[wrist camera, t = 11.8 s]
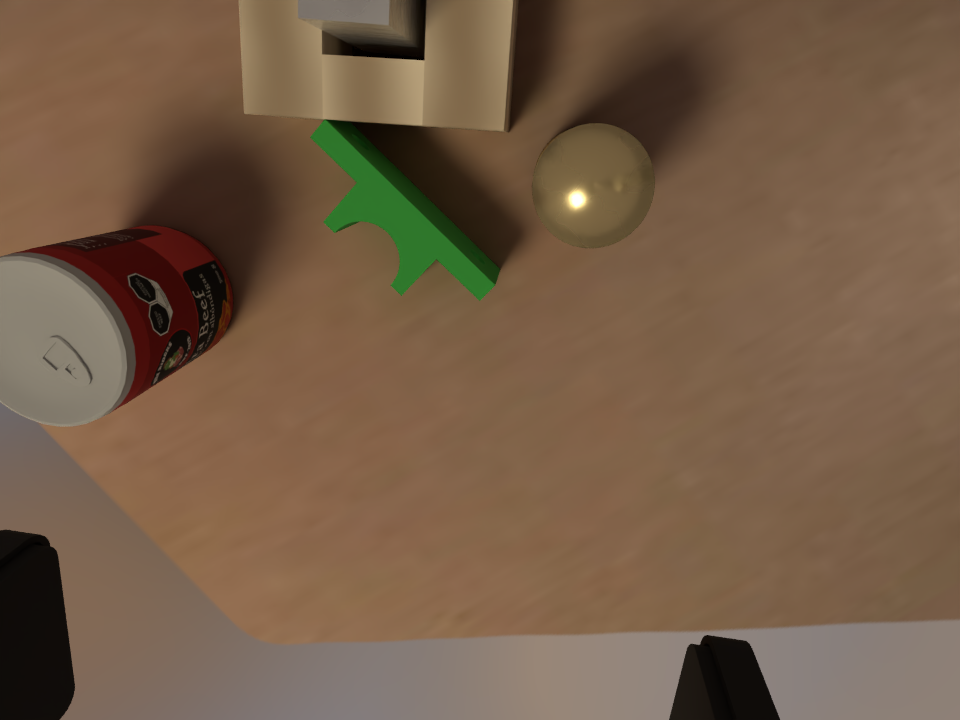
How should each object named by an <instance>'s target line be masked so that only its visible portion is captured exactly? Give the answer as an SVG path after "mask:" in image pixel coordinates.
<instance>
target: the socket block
mask: <svg viewBox="0 0 960 720" xmlns="http://www.w3.org/2000/svg"><path fill="white" fill-rule="evenodd" d="M518 3H519V0H427V1H426V31H425V61H424V60H408V59H391V58H374V57H358V56H353V45H351V44H349V43H347V42H345V41H343V40H341V39H339V38H337V37H335V36H333V35H331V34H329V33H327V32H325V31H323V30H321V29H319V28H317V27H315V26H313V25H311V24H309V23H307V22H305V21H303V20H301V19H299V18H298V0H239V16H240V37H241V58H242V80H243V101H244V114H253V115H264V116H275V117H287V118H302V119H317V120H325V119H327V120H336V121H347V122H362V123H377V124H392V125H407V126H422V127H437V128H452V129H467V130H483V131H498V132H509V126H510V112H511V99H512V85H513V71H514V58H515V44H516V30H517V17H518Z"/></svg>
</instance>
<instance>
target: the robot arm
mask: <svg viewBox="0 0 960 720" xmlns="http://www.w3.org/2000/svg"><path fill="white" fill-rule="evenodd" d="M74 691H75V683H74V675H73V667H72V660H71V652H70V644H69V636H68V629H67V621H66V613H65V606H64V598H63V591H62V583H61V575H60V567H59V560H58V554H57V551H56V550H55V549H54V548H53V547H50V543H49V541H48V539H47V538H46V537H45V536H42V535H38V534H31V533H24V532H18V531H11V530H1V531H0V720H60V718H61V717H62V716H63V715H64V713H65V712H66V711H67V709H68V707H69V705H70V704H71V701H72V698H73V695H74ZM669 720H780V718H779V716H778V713H777V711H776V708H775V705H774V703H773V700H772V698H771V695H770V693H769V690H768V688H767V685H766V683H765V680H764V677H763V675H762V672H761V670H760V668H759V665H758V662H757V660H756V657H755V655H754V652H753V650H752V648H751V646H750V644H749V643H748V642H747V641H743V640H736V639H729V638H723V637H716V636H709V635H706V636H704V637H703V639H702V641H701V644H700V645H696V644H690V645H689V647H688V648H687V651H686V655H685V659H684V663H683V668H682V671H681V675H680V679H679V683H678V687H677V691H676V695H675V699H674V703H673V707H672V711H671V715H670V719H669Z"/></svg>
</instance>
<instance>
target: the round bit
mask: <svg viewBox="0 0 960 720" xmlns="http://www.w3.org/2000/svg"><path fill="white" fill-rule="evenodd" d="M654 188H655V177H654V171H653V166H652V163H651V160H650V158H649V156H648V154H647V152H646V150H645V149H644V147H643V146H642V145H641V143H640V142H639V141H638V140H637V139H636V138H635V137H633V136H632V135H631V134H630V133H628V132H626V131H625V130H623V129H621V128H618V127H616V126H612V125H609V124H602V123H590V124H584V125H580V126H576V127H574V128H571V129H569V130H567V131H564V132H562V133H561V134H559V135H557V136H556V137H554V138H553V139H552V140H551V141H550V142H549V143H548V144H547V145H546V146H545V148H544V149H543V151H542V152H541V154H540V156H539V158H538V161H537V164H536V167H535V171H534V175H533V182H532V195H533V202H534V206H535V209H536V211H537V214H538V216H539V218H540V220H541V221H542V223H543V224H544V226H545V227H546V228H547V229H548V230H549V231H550V232H551V233H552V234H553V235H554V236H555V237H557V238H558V239H560V240H562V241H563V242H565V243H568V244H570V245H573V246H577V247H582V248H600V247H605V246H609V245H611V244H614V243H616V242H618V241H620V240H622V239H624V238H625V237H627V236H628V235H629V234H631V233H632V232H633V231H634V230H635V229H636V228H637V227H638V226H639V225H640V223H641V222H642V221H643V219H644V218H645V216H646V214H647V212H648V210H649V208H650V206H651V203H652V200H653V195H654Z"/></svg>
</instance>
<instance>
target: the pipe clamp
mask: <svg viewBox="0 0 960 720" xmlns="http://www.w3.org/2000/svg"><path fill="white" fill-rule="evenodd" d="M310 138H311V139H312V140H313V141H314V142H315V143H316V144H318V145H319V146H320V147H321V148H322V149H323V150H324V151H325V152H326V153H327V154H328V155H329V156H330V157H331V158H332V159H333V160H334V161H335V162H336V163H337V164H338V165H339V166H340V167H341V168H342V169H343V170H344V171H346V172H347V173H348V174H349V175H350V176H351V177H352V178H353V179H354V180H355V181H356V182H357V183H356V185H355V186H354V187H353V188H352V189H351V190H350V192H349V193H348V194H347V195H346V196H345V197H344V199H343V200H342V201H341V202H340V203H339V204H338V206H337V207H336V208H335V209H334V210H333V211H332V213H331V214H330V215H329V216H328V217H327V218H326V219H325V221H324V223H325V224H326V225H327V226H328V227H329V228H330V229H331V230H332V231H333V232H334V233H335V232H338V231H340V230H342V229H345V228H347V227H349V226H351V225H354V224H356V223H358V222H359V221H364V222H369V223H373V224H375V225H377V226H379V227H381V228H383V229H384V230H385V231H386V232H387V233H388V234H389V235H390V236H391V237H392V239H393V240H394V242H395V244H396V246H397V248H398V252H399V257H400V266H399V271H398V274H397V276H396V278H395V280H394V282H393V283H392V284H391V286H392V287H393V288H394V289H395V290H396V291H397V292H398V293H399V294H400V295H401V296H402V295H403V293H404V292H405V291H406V290H407V289H408V288H409V287H410V286H411V285H412V284H413V283H414V282H415V281H416V280H417V279H418V278H419V277H420V276H421V274H422V273H423V272H424V271H425V270H426V269H427V268H428V267H429V266H430V265H431V264H432V263H433V262H434V261H435V260H436V259H437V260H438V261H439V262H440V263H441V264H442V265H443V266H444V267H445V268H446V269H447V270H448V271H449V272H450V273H451V274H452V275H453V276H454V277H455V278H457V279H458V280H459V281H460V282H461V283H462V284H463V285H464V286H465V287H466V288H467V289H468V290H469V291H470V292H471V293H472V294H473V295H474V296H475V297H476V298H477V299H478V300H479V301H480V300H481V299H482V298H483V297H484V296H485V295H486V294H487V293H488V292H489V291H490V290H491V289H492V288H493V287H494V286H495V284H496V281H497V278H498V275H499V272H500V268H498V267H497V266H496V265H495V264H494V263H493V262H492V261H491V260H490V259H489V258H488V257H487V256H486V255H485V254H484V253H483V252H482V251H481V250H480V249H479V248H478V247H477V246H476V245H475V244H474V243H473V242H472V241H471V240H470V239H469V238H468V237H467V236H466V235H465V234H464V233H463V232H462V231H461V230H460V229H459V228H458V227H457V226H456V225H455V224H454V223H453V222H452V221H451V220H450V219H449V218H448V217H446V216H445V215H444V214H443V213H442V212H441V211H440V210H439V209H438V208H437V207H436V206H435V205H434V204H433V203H432V202H431V201H430V200H429V199H428V198H427V197H426V196H425V195H424V194H423V193H422V192H421V191H420V190H419V189H418V188H417V187H416V186H415V185H414V184H413V183H412V182H411V181H410V180H409V179H408V178H407V177H406V176H405V175H404V174H403V173H402V172H401V171H400V170H399V169H398V168H397V167H396V166H395V165H393V164H392V163H391V162H390V161H389V160H388V159H387V158H386V157H385V156H384V155H383V154H382V153H381V152H380V151H379V150H378V149H377V148H376V147H375V146H374V145H373V144H372V143H371V142H370V141H369V140H368V139H367V138H366V137H365V136H364V135H363V134H362V133H361V132H360V131H359V130H358V129H357V128H356V127H355V126H354V125H353V124H352V123H351V122H346V121H336V120H327V119H325V120H324V121H323V122H322V123H321V125H320V126H319V127H318V128H317V130H316V131H315V132H314V133H313V134H312V136H311V137H310Z"/></svg>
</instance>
